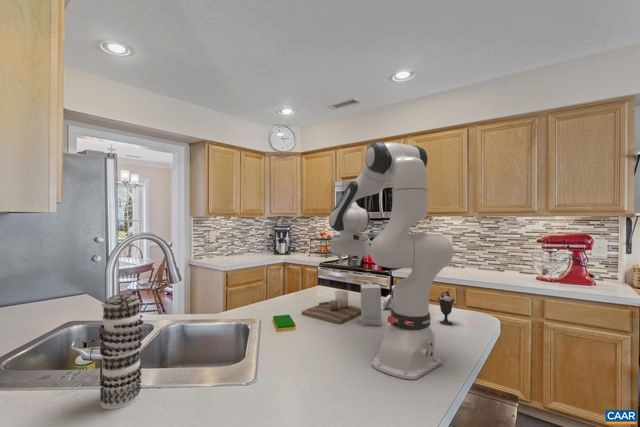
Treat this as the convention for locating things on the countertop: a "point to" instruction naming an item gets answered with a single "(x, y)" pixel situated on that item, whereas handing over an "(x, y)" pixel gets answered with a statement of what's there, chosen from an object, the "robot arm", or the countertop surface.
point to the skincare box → (371, 304)
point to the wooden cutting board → (332, 313)
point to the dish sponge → (284, 323)
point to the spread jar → (389, 300)
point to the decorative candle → (120, 351)
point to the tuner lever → (339, 300)
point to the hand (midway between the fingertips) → (349, 264)
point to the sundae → (446, 306)
